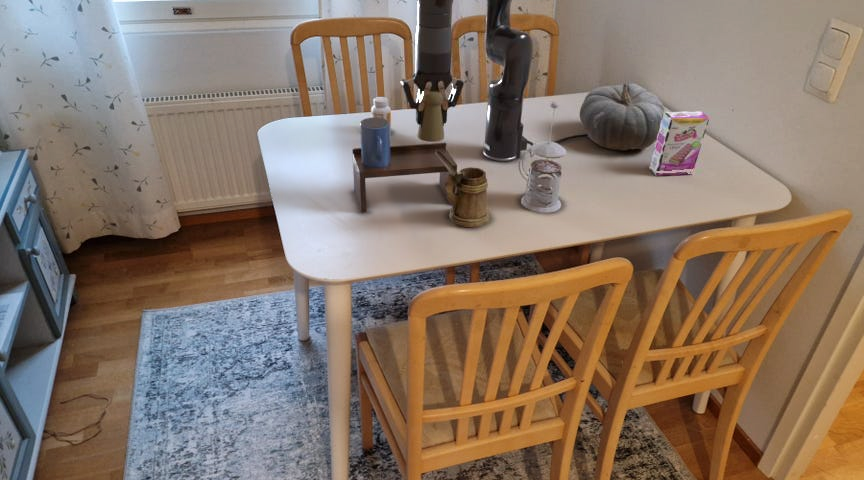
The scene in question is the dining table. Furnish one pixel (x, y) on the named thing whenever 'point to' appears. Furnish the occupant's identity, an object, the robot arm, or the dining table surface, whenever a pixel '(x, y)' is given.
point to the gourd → (622, 116)
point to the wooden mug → (466, 194)
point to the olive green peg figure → (432, 118)
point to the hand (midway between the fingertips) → (431, 124)
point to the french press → (543, 195)
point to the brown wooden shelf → (402, 166)
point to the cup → (375, 142)
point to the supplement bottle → (381, 109)
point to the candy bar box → (678, 141)
